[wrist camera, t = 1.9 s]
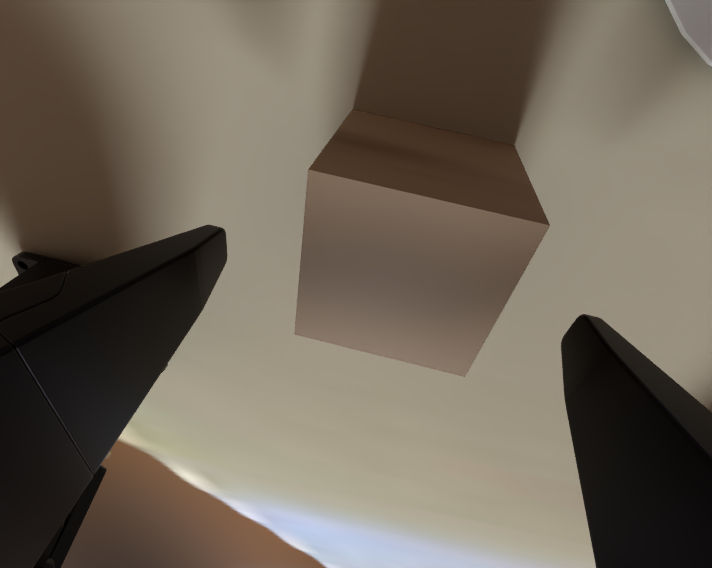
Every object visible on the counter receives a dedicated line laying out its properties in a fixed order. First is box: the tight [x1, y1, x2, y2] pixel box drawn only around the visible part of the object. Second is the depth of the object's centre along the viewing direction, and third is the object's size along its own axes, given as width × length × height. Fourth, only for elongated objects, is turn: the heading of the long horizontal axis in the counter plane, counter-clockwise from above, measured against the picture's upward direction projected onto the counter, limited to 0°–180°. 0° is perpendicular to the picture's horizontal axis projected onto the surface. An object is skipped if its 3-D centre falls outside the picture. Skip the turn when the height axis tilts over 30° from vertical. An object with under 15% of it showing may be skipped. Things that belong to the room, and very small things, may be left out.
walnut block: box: [295, 110, 550, 377], centre depth 11 cm, size 5×5×5 cm
